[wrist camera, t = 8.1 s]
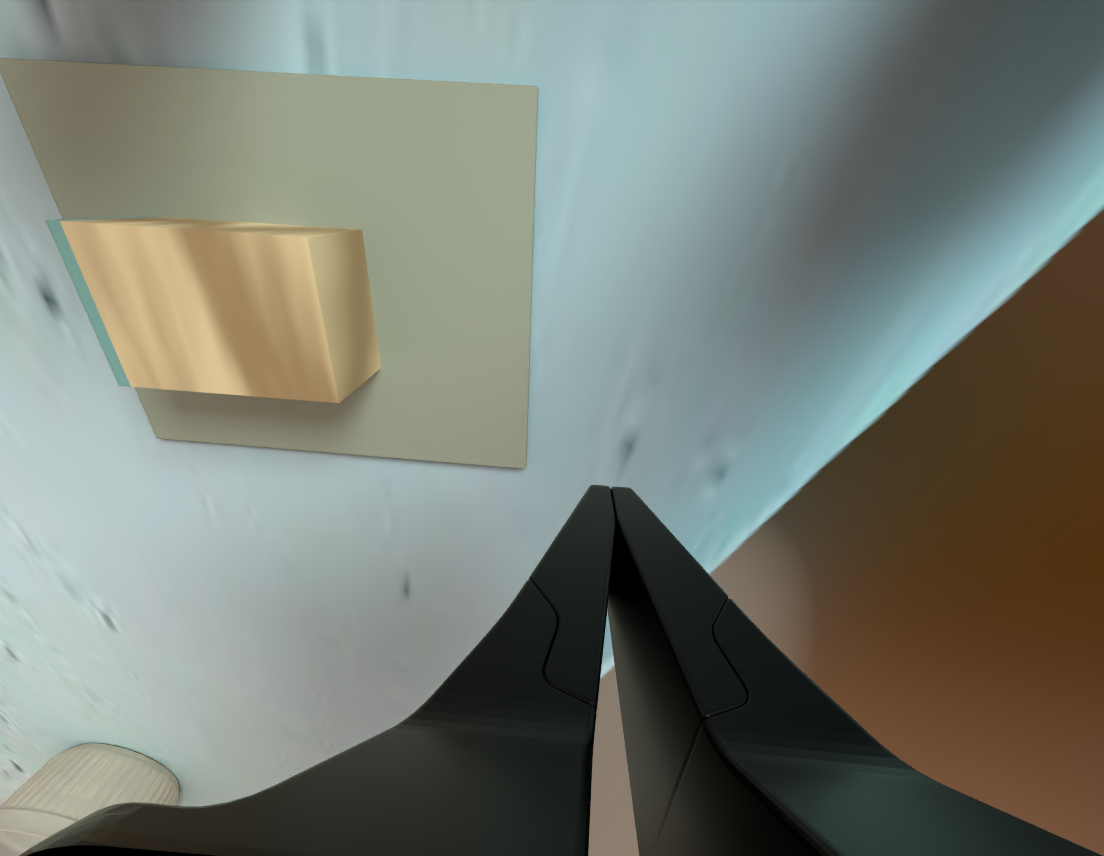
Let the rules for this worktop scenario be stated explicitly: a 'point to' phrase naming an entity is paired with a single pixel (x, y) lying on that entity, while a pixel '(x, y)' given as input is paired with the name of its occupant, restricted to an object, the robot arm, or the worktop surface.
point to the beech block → (225, 304)
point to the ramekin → (80, 792)
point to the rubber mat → (336, 202)
